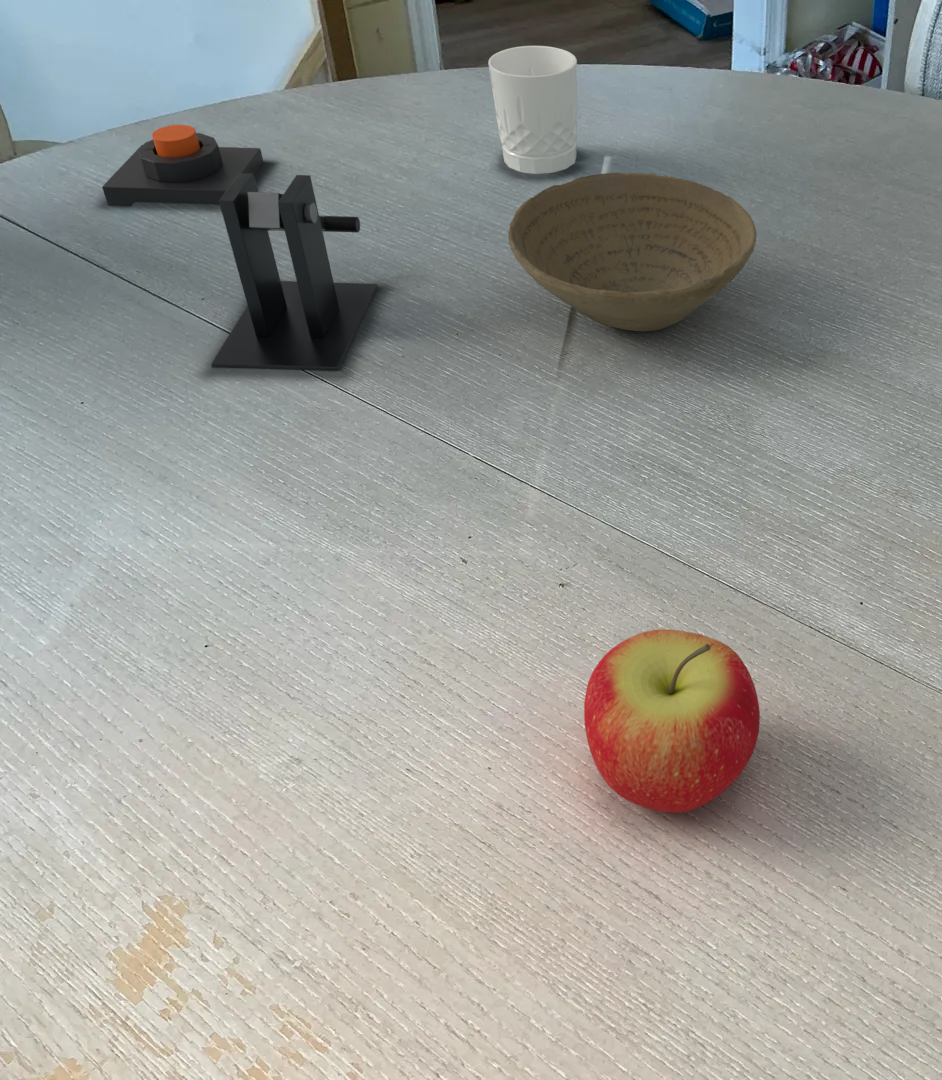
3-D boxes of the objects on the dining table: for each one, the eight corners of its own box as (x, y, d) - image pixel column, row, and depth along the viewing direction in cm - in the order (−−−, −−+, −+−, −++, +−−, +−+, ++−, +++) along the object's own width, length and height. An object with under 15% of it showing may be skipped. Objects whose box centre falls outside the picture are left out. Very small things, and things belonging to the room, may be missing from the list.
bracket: (266, 293, 93) (229, 149, 86) (379, 297, 93) (352, 153, 86) (215, 377, 84) (167, 225, 77) (340, 381, 84) (305, 229, 77)
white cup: (486, 179, 110) (474, 70, 103) (517, 146, 116) (507, 41, 109) (566, 189, 109) (559, 80, 102) (593, 155, 114) (588, 50, 108)
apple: (731, 865, 55) (738, 728, 49) (562, 822, 57) (546, 683, 50) (773, 733, 61) (784, 595, 54) (619, 697, 63) (611, 559, 56)
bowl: (785, 364, 87) (791, 267, 82) (539, 399, 83) (529, 299, 78) (715, 249, 101) (718, 159, 95) (500, 274, 96) (490, 182, 91)
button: (151, 159, 103) (145, 140, 102) (166, 143, 106) (160, 123, 105) (192, 160, 103) (186, 141, 102) (206, 144, 106) (201, 125, 105)
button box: (109, 210, 104) (94, 166, 101) (148, 167, 110) (135, 125, 108) (234, 214, 104) (222, 170, 101) (266, 170, 110) (255, 128, 108)
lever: (284, 238, 93) (283, 207, 92) (360, 240, 93) (360, 209, 92) (220, 226, 81) (219, 190, 81) (307, 229, 81) (306, 193, 81)
